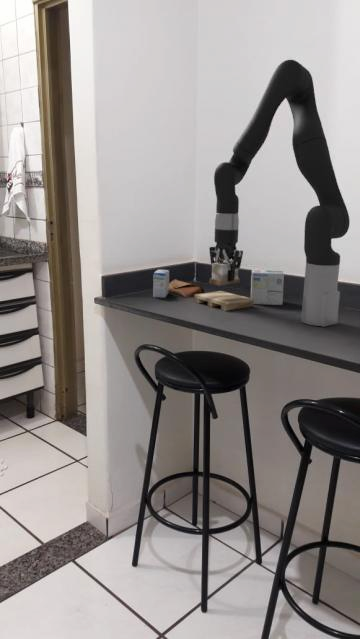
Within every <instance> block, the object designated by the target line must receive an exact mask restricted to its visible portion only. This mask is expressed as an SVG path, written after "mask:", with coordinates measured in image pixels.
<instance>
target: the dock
mask: <svg viewBox="0 0 360 639" xmlns="http://www.w3.org/2000/svg"><path fill="white" fill-rule="evenodd" d="M193 298H194V303H197V304H205V303H207V307H211V308H213V307H220V310H221V311H224V312H226V311H233V310H238V309H244V308H250V307H253V305H254V304H253V302H254V299H252V298H251V297H247V296H243V295H239V294H237V293H236V294H235V293H231V292H227V291H223V290H218V291H217V290H216V291H211V292H205V293H202V294H195V295H194V297H193Z"/></svg>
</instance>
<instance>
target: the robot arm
mask: <svg viewBox="0 0 360 639" xmlns="http://www.w3.org/2000/svg"><path fill="white" fill-rule="evenodd" d="M314 85H315V84H314V81H313V77H312V74H311V73H310V71H309V70H308V69H307V68H306V67H305V66H303V65H302V64H301V63H299V61H296V60H295V59H287V60H284V61H281V63H280V64H279V65H277V67H276V68H275V71H274V72H273V74H272V76H271V78H270V80H269V82H268V84H267V86H266V88H265V90H264V93H263V94H262V97H261V99H260V101H259V103H258V105H257V107H256V109H255V111H254V113H253V115H252V117H251V119H250V120H249V122H248V124H247V125H246V127H245V129H244V130H243V132H242V133H241V135H240V136H239V138H238V139H237V141H236V142H235V144H234V145H233V148H232V152H233V154H232V156H231V158H230V159H229V161H225V162H221V163H219V164H218V165H217V166H216V168H215V170H214V175H213V182H214V183H213V184H214V189H215V190H214V191H215V195H216V196H215V197H216V206H215V207H216V210H215V211H216V212H215V219H214V239H213V240H214V243H216V244H215V246H209V257H210V258H209V259H210V260H209V261H210V264H211V266H212V263H219V262H226V264H227V265H228V279H227V280H228V282H232V281H234V279H235V270H236V269H238V270H239V269H240V268H241V266H242V261H243V255H244V251H243V250H242V249H241V250H239V249H237V246H236V245H237V243H238V242H239V224H240V221H239V208H240V207H239V205H240V204H239V203H240V201H239V200H240V199H239V197H238V195H237V194H236V193H237V192H236V185H239V184H240V182H241V181H242V180H243V179H244V177H245V176H246V174H247V172H248V170H249V167H250V166H251V163H252V161H253V159H254V158H255V157H256V155H257V154H258V152H259V151H260V149H261V148H262V147H263V145H264V144H265V142H266V140H267V138H268V136H269V132H270V129H271V127H272V122H273V120H274V117H275V115H276V113H277V111H278V109H279V107H280V106H281V105H282V103H283V102H284V101H285V99H286V101H287V103H288V106H289V109H290V112H291V115H292V119H293V128H292V129H293V130H292V139H291V140H292V141H291V145H292V150H293V154H294V158H295V162H296V165H297V168H298V169H299V171H300V173H301V175H302V176H303V178H304V179H305V180H306V182H307V183H308V184H309V185H310V187H311V188H312V189H313V191H314V193H315V195H316V198H317V199H318V200H317V201H318V203H319V205H315V206H313V207H312V208H310V210H309V211H308V212H307V214H306V216H305V222H304V240H303V241H304V246H303V250H304V254H305V259H306V260H305V268H304V269H305V270H304V271H305V272H304V282H303V294H302V295H303V296H302V309H301V319H300V320H301V322H302V323H304V324H307V325H308V326H309V325H310V326H318V327H323V328H325V327H328V326H329V327H330V326H333V325H337V324H338V316H339V306H340V299H341V297H340V296H341V292H340V291H339V290H338V285H339V284H338V283H339V273H340V263H341V255H340V253H338V252H336V251H335V250H334V249H333V247H332V239H335V240H336V239H340V238H342V237H344V236H345V235H346V234H347V232H348V231H349V229H350V220H351V219H350V215H349V211H348V208H347V205H346V203H345V200H344V198H343V195H342V192H341V190H340V187H339V184H338V181H337V180H338V179H337V177H336V174H335V170H334V166H333V163H332V158H331V155H330V151H329V150H330V149H329V146H328V142H327V139H326V135H325V131H324V129H323V124H322V120H321V118H320V115H319V112H318V111H319V110H318V108H317V100H316V94H315V87H314ZM236 263H237V265H236ZM231 264H232V266H231Z"/></svg>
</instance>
